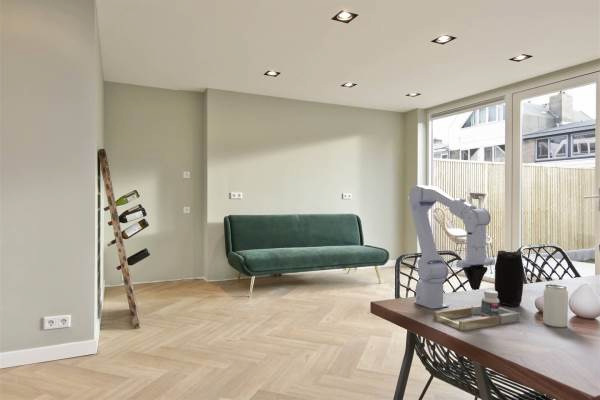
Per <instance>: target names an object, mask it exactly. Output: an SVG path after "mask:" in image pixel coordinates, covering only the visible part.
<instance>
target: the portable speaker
mask: <svg viewBox="0 0 600 400" xmlns="http://www.w3.org/2000/svg"><path fill="white" fill-rule="evenodd" d="M523 264H524V263H523V258H522V252H521V251H505V250H498V251H497V254H496V260H495V263H494V291H497V292H498V297H497V298H498V299H499V306H503V305H508V306H510V307H511V308H515V309H516V308H519V307H520V306H521V304H522V299H523V293H524V291H523V290H524V265H523Z"/></svg>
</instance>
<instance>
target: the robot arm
mask: <svg viewBox="0 0 600 400" xmlns="http://www.w3.org/2000/svg"><path fill="white" fill-rule="evenodd" d="M408 198H409V199H408V200H409V204H410V208H411V209H410V211H411V214H412V219H413V224H414V227H415V231H416V235H417V239H418V241H417V242H418V244H419V245H418V246H419V248H420V252H421V253H420V254H421V257H420V258H419V259H418V260H417V262H416V263H417V275H418V277H419V280H418V281H417V283H416V287H415V300H414V301H413V303H415V304H417V305H420V306H423V307H426V308H428V309H432V310H434V309H435V310H436V309H442V308H448V307H449V305H448V304H445V303H444V282H446V278H448V276H449V266H448V265H447V264H446V262H445V259H444V257H443V256H442V255H440V254H439V253H438V251H437V247H436V244H435V239H434V234H433V231H432V227H431V223H430V219H429V215H428V212H429V210H431V208H432V207H434V205H435V204H436V203H437V202H438V203H439V204H441V205H444V206H445V207H447V208H448V209H449V210H448V211H449V213H450V214H452V215H454V216H456V217H457V218H459V219H461V220H462V223H463V225H464V227H465V231H466V243H465V244H466V246H465V250H466V252H465V258H464V259H461V260H456V268H459V269H462V268H463V269H464V272H465V273H466V275H467V277H468V280H469V284H470V289H472V290H480V287H481V285H482V281H483V278H484V276H485V275H486V273H487V271H488V267H487V266H495V259H494V258H486V252H487V251H486V250H487V249H486V248H487V226H488V225H489V224H490V222H491V219H492V218H491V214H490V213H489V211H488V210H487V208H481V207H480V208H478V207H477V205H475V204H471V203H469V202H467V201H466V198H461V197H460V198H459V197H458V198H454V197H452V196H450V195H449V194H448V193H446V192H444V191H443V190H442V189H441V188H440V187H438V186H436V185H419V184H414V185H413V186H412V187H410V190H409V193H408Z"/></svg>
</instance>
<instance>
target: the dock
mask: <svg viewBox="0 0 600 400" xmlns="http://www.w3.org/2000/svg"><path fill="white" fill-rule="evenodd" d="M470 307H471V308H472V315H476V316H477V315H481V304H479V305H471V306H470ZM498 316H499V324H501V325H503V324H509V323H514V322H519V321H520V312H518V311H517V312H516V311H514V310H510V309H507V308H504V307H500V306H499V315H498Z"/></svg>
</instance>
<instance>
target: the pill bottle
mask: <svg viewBox="0 0 600 400" xmlns="http://www.w3.org/2000/svg"><path fill="white" fill-rule="evenodd" d="M483 294H484V296H482V297H481V304H480V305H481V314H480V317H486V316H493V315H496V316H498V315H499V307H500V305H499V299H498V298H497V297H498V292H497V291H495V290H494V289H493V290H492V289H485V290H483Z"/></svg>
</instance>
